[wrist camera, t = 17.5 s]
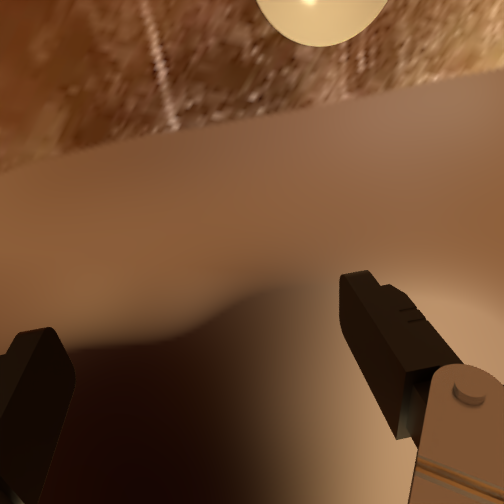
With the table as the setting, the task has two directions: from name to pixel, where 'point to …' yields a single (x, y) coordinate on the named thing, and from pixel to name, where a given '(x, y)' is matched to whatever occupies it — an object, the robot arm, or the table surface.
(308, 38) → the cream plate
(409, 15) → the table surface
